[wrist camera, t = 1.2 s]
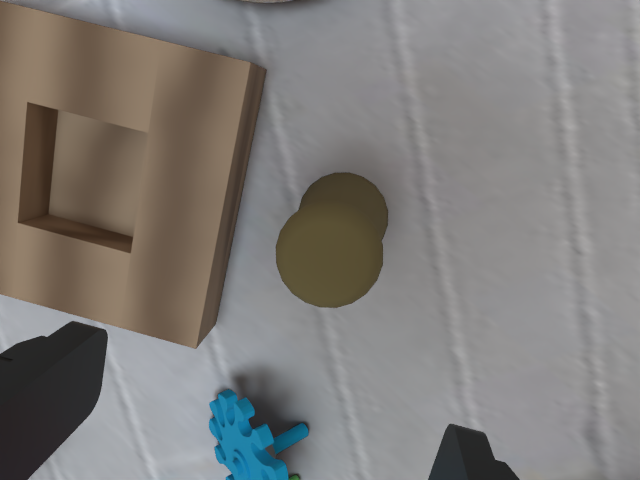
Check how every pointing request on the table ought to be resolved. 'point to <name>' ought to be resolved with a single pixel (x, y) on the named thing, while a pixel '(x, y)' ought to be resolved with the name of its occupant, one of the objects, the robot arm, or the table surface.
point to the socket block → (120, 172)
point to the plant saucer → (265, 1)
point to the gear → (249, 441)
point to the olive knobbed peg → (334, 241)
